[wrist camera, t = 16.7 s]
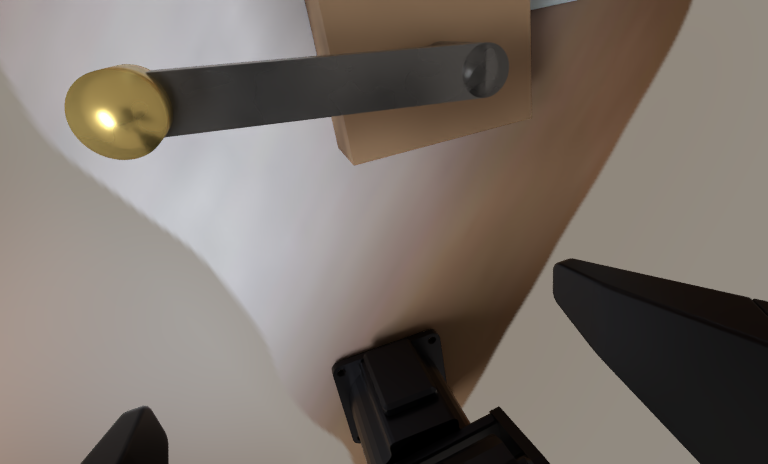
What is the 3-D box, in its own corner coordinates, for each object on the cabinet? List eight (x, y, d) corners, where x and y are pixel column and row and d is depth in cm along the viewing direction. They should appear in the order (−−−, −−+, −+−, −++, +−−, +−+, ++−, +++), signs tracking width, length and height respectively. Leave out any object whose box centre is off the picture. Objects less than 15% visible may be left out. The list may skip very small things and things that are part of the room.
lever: (460, 33, 16) (534, 32, 12) (459, 89, 17) (529, 106, 13) (106, 62, 13) (49, 73, 9) (128, 128, 14) (84, 165, 10)
